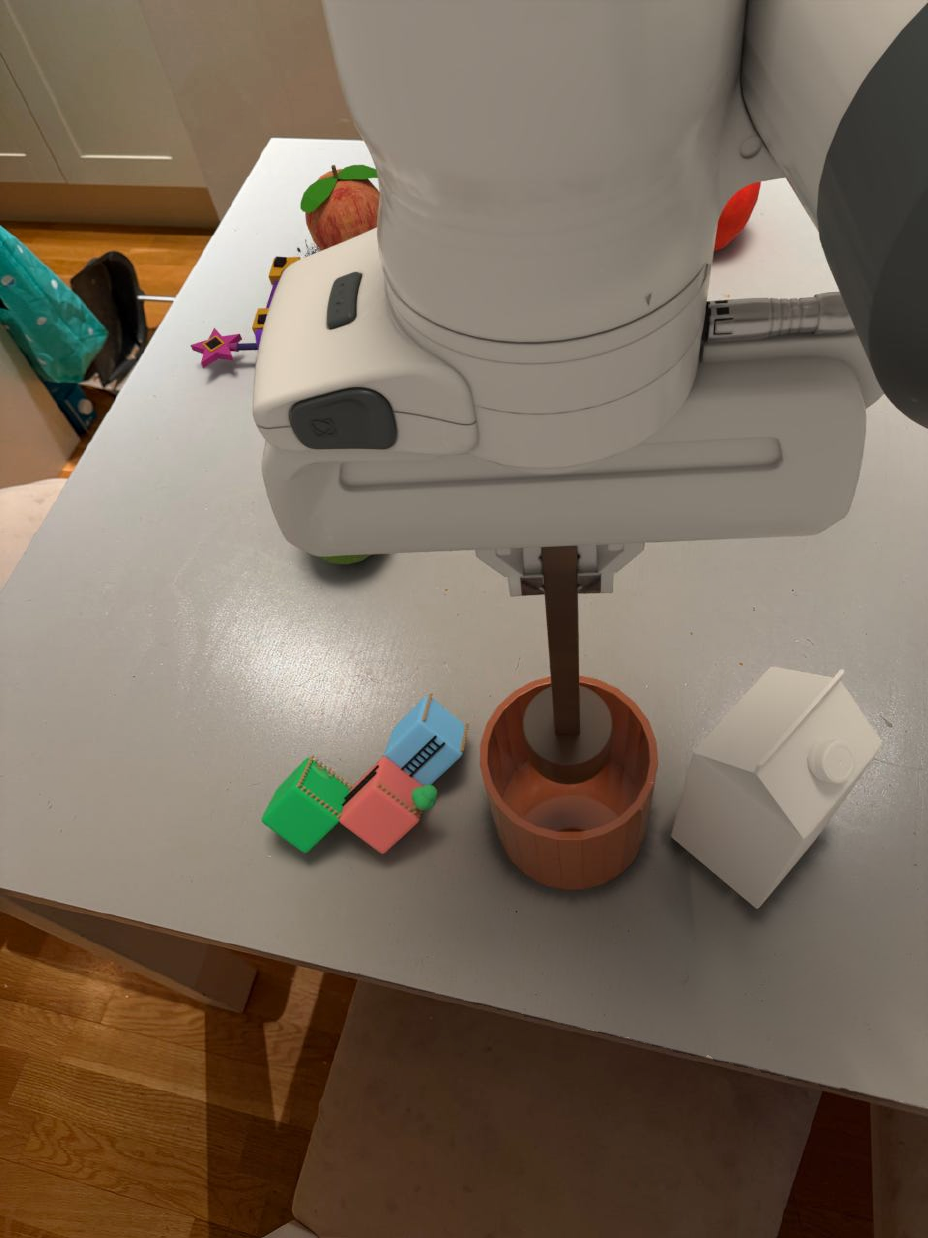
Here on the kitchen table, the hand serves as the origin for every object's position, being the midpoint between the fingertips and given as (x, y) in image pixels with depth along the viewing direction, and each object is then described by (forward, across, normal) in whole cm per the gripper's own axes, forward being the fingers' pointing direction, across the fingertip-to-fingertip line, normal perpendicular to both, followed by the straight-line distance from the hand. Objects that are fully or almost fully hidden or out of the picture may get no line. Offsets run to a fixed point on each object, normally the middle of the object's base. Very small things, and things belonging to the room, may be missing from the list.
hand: (560, 581), depth 37 cm
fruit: (+30, +22, -65) cm, 75 cm away
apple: (+30, -16, -62) cm, 70 cm away
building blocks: (+30, +14, -2) cm, 33 cm away
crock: (+30, 0, 0) cm, 30 cm away
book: (+30, +24, -52) cm, 65 cm away
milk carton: (+30, -12, +2) cm, 32 cm away
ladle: (+17, 0, 0) cm, 17 cm away
